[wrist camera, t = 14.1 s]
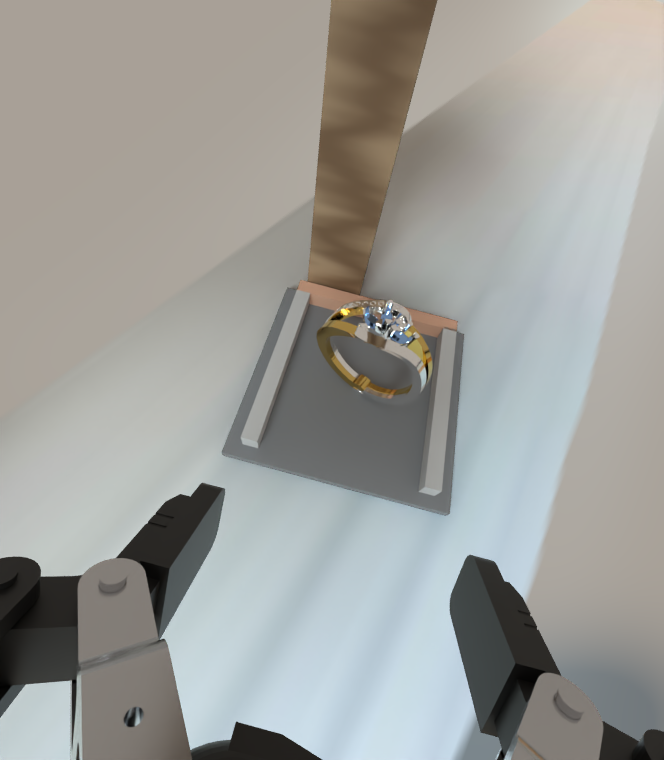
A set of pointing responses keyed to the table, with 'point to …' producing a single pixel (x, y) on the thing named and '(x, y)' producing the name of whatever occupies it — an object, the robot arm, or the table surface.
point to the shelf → (362, 128)
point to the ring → (382, 336)
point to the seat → (351, 407)
